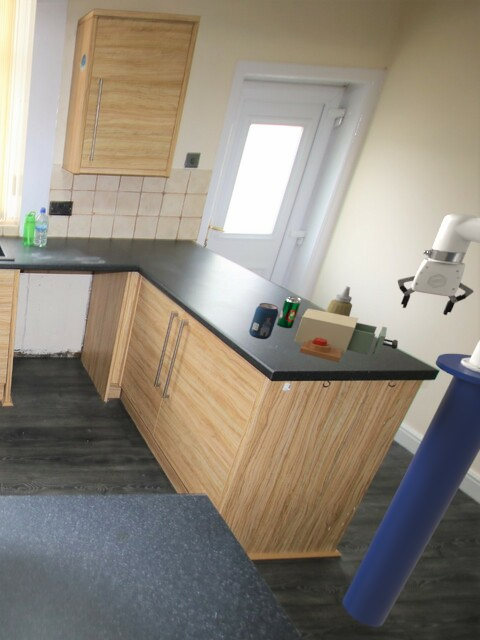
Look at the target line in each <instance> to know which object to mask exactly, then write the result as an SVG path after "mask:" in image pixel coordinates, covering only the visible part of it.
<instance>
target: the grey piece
mask: <svg viewBox="0 0 480 640" xmlns="http://www.w3.org/2000/svg"><path fill="white" fill-rule="evenodd" d="M387 330H388V328H387V326H381V329H380V332H379V334H378V336H377V339H376V342H375V344H374V350H373V351H372V355H371V358H372V359H378V356H379V353H380V351H381V349H382V347H383V346H385V347H390V348H392V349H393V350H396V349H397V348H398V344H399V341H398V340H397V339H393V340H392V339H387V338H386V337H387ZM376 331H377V326H375V325H370V324H367V323H366V324H365V323H362V322H361V323H360V322H357V323H356V326H355V329H354V332H353V334H352V337H351V339H350V342H349V345H348V347H347V350H346V351H349V352H355V353H359V354H363V355H368V354H369V351H370V349H371V346H372V344H373V341H374V339H375V337H376ZM386 342H388V343H386Z"/></svg>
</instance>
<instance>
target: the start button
mask: <svg viewBox="0 0 480 640" xmlns="http://www.w3.org/2000/svg"><path fill="white" fill-rule="evenodd" d="M313 343H314V344H316V345H320V346H326V344H327V340H325V339H322V338H315V339H314V342H313Z"/></svg>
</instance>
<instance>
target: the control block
mask: <svg viewBox="0 0 480 640" xmlns="http://www.w3.org/2000/svg"><path fill="white" fill-rule="evenodd" d="M313 342H314V340H309V341H308V342H305V341H304V343H303V344H302V345H301V346H300V348H299V351H298V353H300V354H303V355H308V356H312V357H317V358H320V359H324V360H327V361H332V362H336V363H339V362H340V359H341V357H342V355H343V354H342V350H338V349H334V348H331V346H332V345H330V344H329V343H327V344H326V346H320V345H316V344H314V343H313Z"/></svg>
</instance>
